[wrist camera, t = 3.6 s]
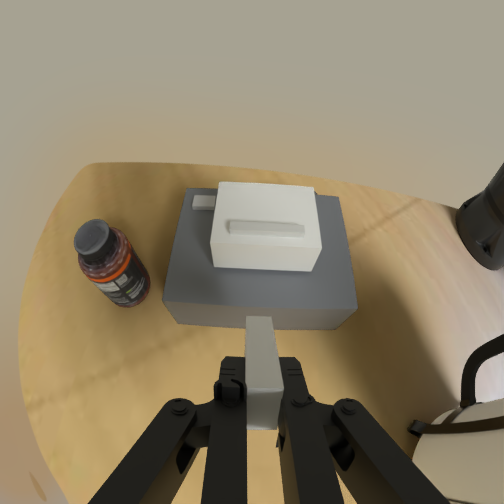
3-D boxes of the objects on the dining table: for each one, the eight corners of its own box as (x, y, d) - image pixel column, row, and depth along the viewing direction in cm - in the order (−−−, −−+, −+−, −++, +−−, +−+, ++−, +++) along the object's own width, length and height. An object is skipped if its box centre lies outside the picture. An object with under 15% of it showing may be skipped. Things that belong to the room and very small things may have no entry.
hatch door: (305, 213, 29) (314, 182, 25) (311, 271, 25) (324, 243, 21) (221, 208, 29) (219, 176, 25) (214, 266, 25) (209, 237, 21)
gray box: (322, 218, 38) (336, 180, 32) (335, 329, 30) (360, 306, 23) (196, 211, 38) (189, 171, 32) (177, 323, 29) (160, 298, 23)
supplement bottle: (121, 261, 33) (86, 205, 24) (158, 273, 33) (130, 215, 23) (102, 300, 30) (55, 253, 21) (140, 315, 30) (98, 270, 20)
